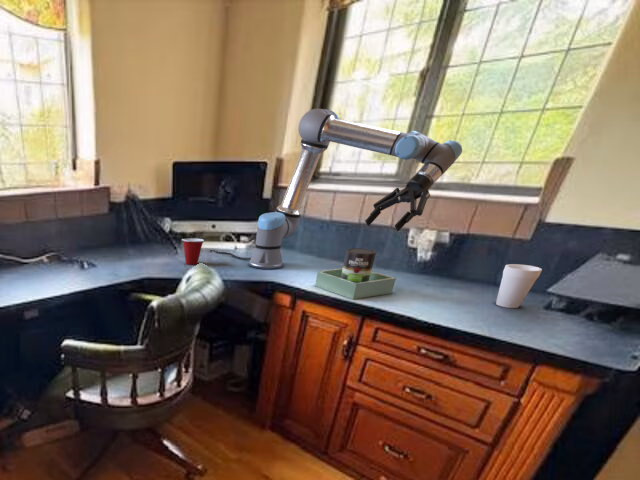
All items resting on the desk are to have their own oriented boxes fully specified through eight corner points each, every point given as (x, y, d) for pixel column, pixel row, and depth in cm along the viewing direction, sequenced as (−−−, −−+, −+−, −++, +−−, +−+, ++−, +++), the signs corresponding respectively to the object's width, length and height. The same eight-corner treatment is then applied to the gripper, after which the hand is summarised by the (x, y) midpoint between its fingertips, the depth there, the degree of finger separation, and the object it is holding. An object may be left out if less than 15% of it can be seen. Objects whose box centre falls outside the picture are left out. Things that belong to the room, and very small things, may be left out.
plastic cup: (206, 262, 212) (207, 237, 206) (197, 267, 204) (198, 241, 198) (186, 260, 217) (187, 236, 211) (177, 264, 209) (178, 239, 203)
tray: (314, 285, 172) (317, 271, 169) (351, 280, 177) (354, 266, 174) (352, 299, 155) (356, 283, 152) (391, 293, 161) (396, 278, 158)
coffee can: (366, 292, 160) (376, 254, 153) (337, 289, 164) (345, 252, 157) (367, 285, 168) (376, 249, 161) (339, 282, 172) (347, 247, 165)
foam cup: (514, 311, 140) (531, 272, 134) (484, 303, 148) (499, 266, 142) (530, 306, 144) (548, 268, 137) (500, 299, 151) (515, 263, 145)
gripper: (458, 190, 149) (413, 237, 152) (397, 186, 170) (359, 227, 173) (452, 174, 145) (406, 223, 148) (391, 171, 166) (352, 214, 169)
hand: (381, 225), depth 160 cm, fingers open, 13 cm apart
